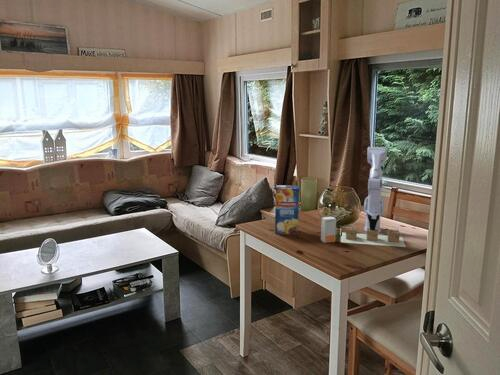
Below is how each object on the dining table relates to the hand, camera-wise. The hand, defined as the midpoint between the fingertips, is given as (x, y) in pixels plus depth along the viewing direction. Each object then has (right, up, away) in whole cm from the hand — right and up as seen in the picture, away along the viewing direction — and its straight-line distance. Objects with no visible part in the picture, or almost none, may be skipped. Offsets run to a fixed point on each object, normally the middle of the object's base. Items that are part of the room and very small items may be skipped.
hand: (372, 229), depth 213 cm
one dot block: (+10, -5, -1) cm, 11 cm away
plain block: (0, -5, +1) cm, 5 cm away
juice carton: (-41, -3, +15) cm, 44 cm away
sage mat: (0, -5, +1) cm, 6 cm away
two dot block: (-10, -5, +3) cm, 11 cm away
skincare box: (-22, -6, -1) cm, 23 cm away
